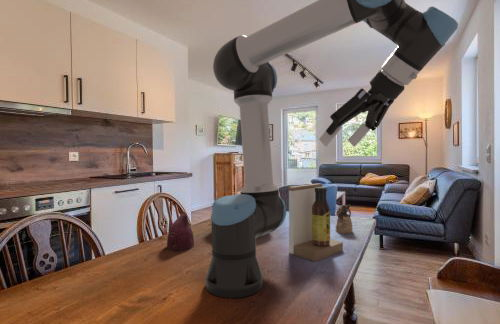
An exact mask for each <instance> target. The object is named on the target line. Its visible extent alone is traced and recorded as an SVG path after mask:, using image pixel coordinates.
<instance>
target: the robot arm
mask: <svg viewBox="0 0 500 324" xmlns="http://www.w3.org/2000/svg"><path fill="white" fill-rule="evenodd" d="M360 22H364V23H365V24H367V26H368V27H369V28H370V29H373V30H375V31H376V32H378V33H379V34H381V35H382V36H384V37H385V38H386V39H388V40H390V41H391V42H393V43H394V44H395V45H396V46H397V47H396V48H395V49H394V50H393V51H392V53H391V54H390V55H389V56H388V57H387V59H386V60H385V61H384V63H383V64H381V69H379V70H378V71H376V73H375V74H374V76H373V77H372V78H371V79H370V80H369V85H370V89H368V90H367V91H366V90H365V89H364V88H360V89H359V90H358V91H357V92H355V93H356V94H354V95H353V97H351V98H350V99H348V100H347V101H346V102H345V103H344V104H343V105H341V106H340V107H339V108H338V109H337V110H335V111H334V112H333V113H332V114H331V115H330V116H329V119H331V120H332V122H331V124H329V126H328V127H327V128H326V130H325V131H324V133H323V134H322V135H321V136H320V137H319V139H318V140H319V141H320V142H321V144H323V146H325V147H328V146H329V144H331V142H332V141H333V139H335V137H336V136H337V135H338V134H339V132H340V131H341V130H342V129H343V125H345V124H346V123H348V122H350V121H351V120H352V119H354V118H355V117H357V116H359V115H360V114H362V113H366V112H367V114H366V117H365V121H364V122H362V123H361V124H360V125H359V126H358V128H357V129H356V130H355V131H354V132H353V133H352V134H351V136H350V137H349V138H348V139H347V141H348V142H349V143H350V144H351V146H353V148H354V147H356V146H357V145H358V144H359V143H360V142H361V141H362V139H364V137H365V136H366V135H367V134H368V133H369V132H370V131H372V132H374V131H376V129H377V128H379V126H380V124H381V123H382V121H383V119H384V117H385V115H386V114H387V111H388V110H389V108H390V107H391V105H392V104H393V103H394V102H395V100H396V99H397V98H398V97H399V96H400V95H402V93H403V92H404V90H405V87H406V86H408V85H409V84H410V83H411V82H412V81H413V80H416V79H417V78H418V74H419V73H420V72H421V71H422V70H423V69H424V68H425V67H426V65H427V64H429V62H430V61H431V60H432V59H433V58H434V56H435V55H437V53H438V52H439V51H440V50H441V49H442V48H443V47H445V45H446V43H447V42H448V41H449V39H450V38H451V37H452V36H453V35H454V33H455V32H456V31H457V29H458V26H459V24H458V22H457V20H456V19H455V18H453V17H452V16H451V15H449V14H448V13H446V12H444V11H442V10H440V9H439V8H438V7H435V6H429V7H428V8H427V9H426V10H425V11H424V10H423V12H421V11H419V10H417V9H416V8H414V7H413V6H411V5H409V4H408V3H407V2H406V0H316V1H313V2H311V3H310V4H308V5H306V6H305V7H302V8H300V9H298V10H296V11H295V12H292V13H290V14H289V15H287V16H284V17H283V18H281V19H279V20H277V21H275V22H273V23H271V24H269V25H267V26H265V27H263V28H261V29H260V30H258V31H255V32H254V33H251V34H249V35H244V34H240V35H238V36H236V37H234V38H233V39H230V40H229V41H228V42H227V41H226V42H225V44H223V45H222V46H221V47H220V49H218V51H217V52H216V54H215V55H214V59H213V64H212V69H213V75H214V77H215V79H216V81H217V82H218V83H219V84H220V85H221V86H222V87H223V88H226V89H227V90H231V91H233V100H234V101H233V102H234V103H235V104H236V105H237V106H238V107H239V117H240V134H241V143H242V144H241V145H242V146H241V148H242V159H243V160H242V162H243V163H242V164H243V175H244V178H243V179H244V186H243V187H242V188H241V189H240V193H239V194H238V193H237V194H232V195H224V196H221V197H219V198H217V199H215V200H214V201H213V203H212V204H211V205H212V206H211V215H210V221H211V253H212V255H211V260H210V264H209V267H208V270H207V273H206V275H205V276H206V277H205V288H206V290H207V292H209V293H210V294H211V295H215V296H217V297H221V298H229V299H236V298H242V297H243V298H244V297H248V296H251V295H252V296H253V295H254V294H257V293H258V292H259V291H260V290H261V289H262V288H263V285H264V282H263V279H264V277H263V273H262V270H261V266H260V263H259V261H258V257H257V246H256V245H257V238H259V237H262V236H264V235H267V234H270V233H273V232H274V231H276V230H277V229H278V228H280V227H281V226H282V225H283V224H284V222H285V219H286V216H287V206H286V203H285V201H284V199H282V197H281V196H280V194H279V193H280V192H279V187H278V186H277V185H275V183H274V179H273V178H274V177H273V176H274V175H273V163H272V162H273V161H272V149H271V148H272V147H271V135H270V120H269V108H268V107H269V106H268V105H269V104H270V103H271V101H272V100H273V92H274V90H275V89H276V87H277V84H278V75H277V70H276V68H275V67H274V65H273V64H272V63H271V61H273V60H275V59H278V58H281V57H282V56H284V55H287V54H289V53H292V52H294V51H297V50H298V49H301V48H303V47H305V46H308V45H309V44H312V43H314V42H317V41H319V40H321V39H323V38H326V37H327V36H330V35H332V34H336V33H337V32H339V31H342V30H344V29H347V28H348V27H351V26H353V25H356V24H358V23H360Z"/></svg>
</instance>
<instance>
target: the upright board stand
mask: <svg viewBox="0 0 500 324" xmlns="http://www.w3.org/2000/svg"><path fill="white" fill-rule="evenodd" d="M315 187H323V183H318V182H317V183H311V184H303V185H295V186H293V185H291V186H288V187H287V189H288V251H289V252H288V253H289V254H292V255H294V256H297V257H299V258H303V259H305V260H309V261H312V262H317V261H320V260H323V259H325V258H328V257H331V256H333V255H336V254H337V253H341V252H343V251H344V250H343V249H344V242H343V241H339V240H335V239H331V238H330V244H329V245H327V246H317V245H314V244H313V243H312V206H313V204H314V202H315Z"/></svg>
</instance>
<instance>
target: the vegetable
mask: <svg viewBox="0 0 500 324" xmlns="http://www.w3.org/2000/svg"><path fill="white" fill-rule="evenodd" d="M188 218H189V217H188V214H187V213H186V211H184V212H183V213H181V214H180V216H178V217H177V219H175V221H174V222H173V223H172V224H171V226H170V229H169V232H168V234H167V241H166V249H168V250H169V251H172V252H179V251H186V250H187V251H188V250H191V249H193V247H195V242H194V241H195V239H194V234H193V233H194V232H193V230H192V228H191V225H190V224H189V220H188Z"/></svg>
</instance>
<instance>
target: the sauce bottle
mask: <svg viewBox="0 0 500 324" xmlns="http://www.w3.org/2000/svg"><path fill="white" fill-rule="evenodd" d="M327 190H328V189H327V187H324V186H322V187H315V202H314V204H313V206H312V243H313V244H314V245H317V246H327V245H329V244H330V239H331V210H330V206H329V203H328V201H327Z"/></svg>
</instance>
